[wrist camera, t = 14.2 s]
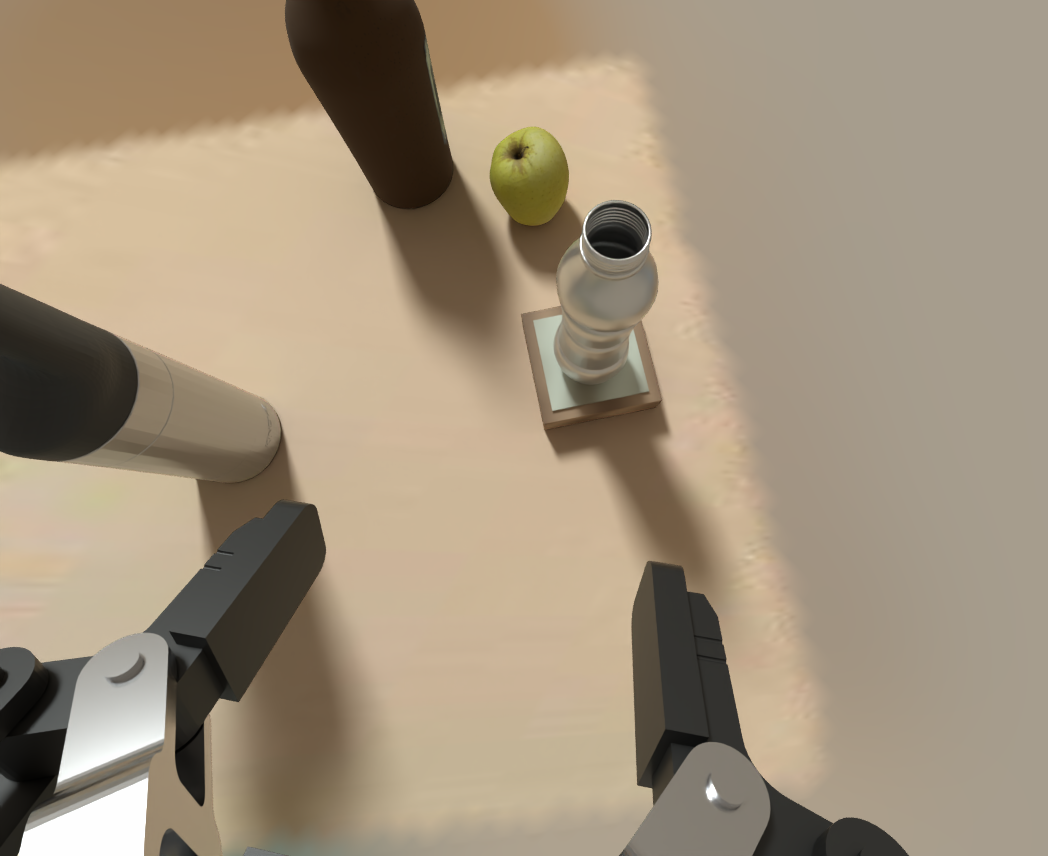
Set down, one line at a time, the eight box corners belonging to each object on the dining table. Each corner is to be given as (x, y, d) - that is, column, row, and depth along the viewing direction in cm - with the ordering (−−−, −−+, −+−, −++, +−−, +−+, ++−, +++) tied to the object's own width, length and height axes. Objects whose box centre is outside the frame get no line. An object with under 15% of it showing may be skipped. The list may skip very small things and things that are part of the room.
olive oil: (394, 232, 53) (257, -22, 28) (348, 162, 55) (181, -131, 30) (477, 181, 53) (413, -110, 29) (428, 114, 55) (329, -212, 31)
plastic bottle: (588, 310, 46) (615, 152, 26) (639, 359, 45) (707, 232, 25) (538, 354, 46) (528, 227, 26) (588, 405, 44) (618, 313, 25)
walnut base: (544, 430, 47) (543, 423, 44) (522, 326, 50) (520, 313, 46) (655, 407, 47) (662, 399, 44) (628, 304, 49) (634, 289, 46)
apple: (591, 183, 51) (577, 131, 41) (545, 248, 53) (522, 212, 43) (533, 144, 52) (507, 85, 43) (490, 208, 54) (456, 165, 44)
